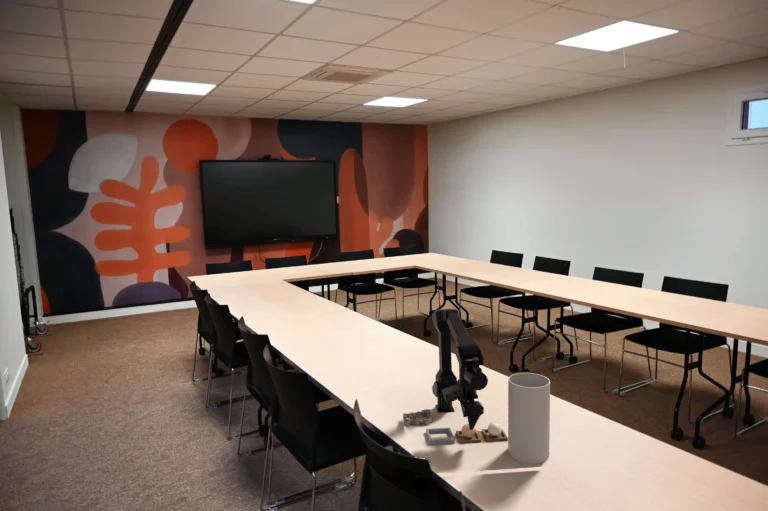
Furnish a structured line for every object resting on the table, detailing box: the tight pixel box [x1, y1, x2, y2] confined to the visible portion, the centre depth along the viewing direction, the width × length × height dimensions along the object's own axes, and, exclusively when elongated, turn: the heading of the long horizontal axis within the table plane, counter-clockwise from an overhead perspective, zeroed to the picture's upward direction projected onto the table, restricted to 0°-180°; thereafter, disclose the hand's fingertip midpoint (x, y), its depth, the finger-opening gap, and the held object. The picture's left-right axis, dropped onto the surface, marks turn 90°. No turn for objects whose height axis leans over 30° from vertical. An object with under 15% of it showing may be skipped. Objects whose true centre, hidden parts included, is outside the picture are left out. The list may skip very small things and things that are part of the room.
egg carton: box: [402, 408, 433, 427], centre depth 183 cm, size 11×8×4 cm
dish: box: [425, 427, 456, 446], centre depth 170 cm, size 8×8×2 cm
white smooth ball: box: [487, 421, 503, 437], centre depth 170 cm, size 5×5×5 cm
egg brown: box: [461, 423, 476, 438], centre depth 169 cm, size 5×5×5 cm
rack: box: [455, 427, 508, 445], centre depth 170 cm, size 8×16×2 cm, turn 94°
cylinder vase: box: [507, 372, 551, 464], centre depth 157 cm, size 12×12×25 cm
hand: (468, 423), depth 169 cm, fingers open, 9 cm apart
